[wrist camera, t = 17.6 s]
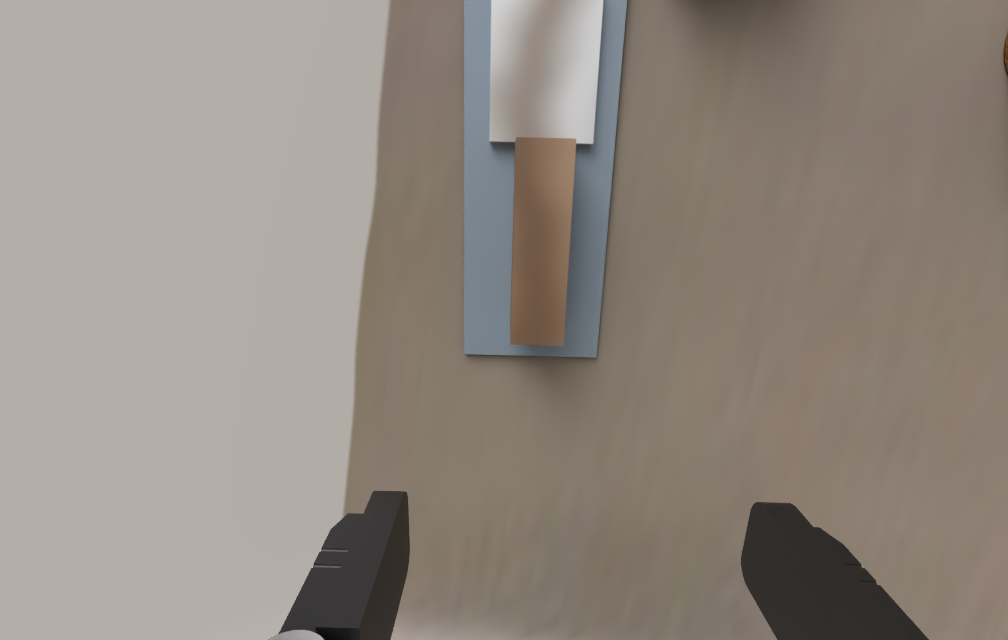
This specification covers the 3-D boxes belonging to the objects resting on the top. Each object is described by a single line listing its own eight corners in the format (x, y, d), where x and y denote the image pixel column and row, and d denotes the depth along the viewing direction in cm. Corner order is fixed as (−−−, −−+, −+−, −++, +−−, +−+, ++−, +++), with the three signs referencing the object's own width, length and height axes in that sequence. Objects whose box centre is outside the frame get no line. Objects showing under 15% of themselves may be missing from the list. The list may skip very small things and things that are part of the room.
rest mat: (626, -15, 27) (628, -19, 27) (595, 354, 34) (596, 357, 33) (465, -19, 27) (464, -23, 27) (464, 350, 34) (463, 354, 33)
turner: (601, -10, 27) (621, -50, 22) (578, 320, 32) (590, 346, 28) (492, -13, 27) (488, -53, 22) (487, 318, 32) (483, 343, 28)
